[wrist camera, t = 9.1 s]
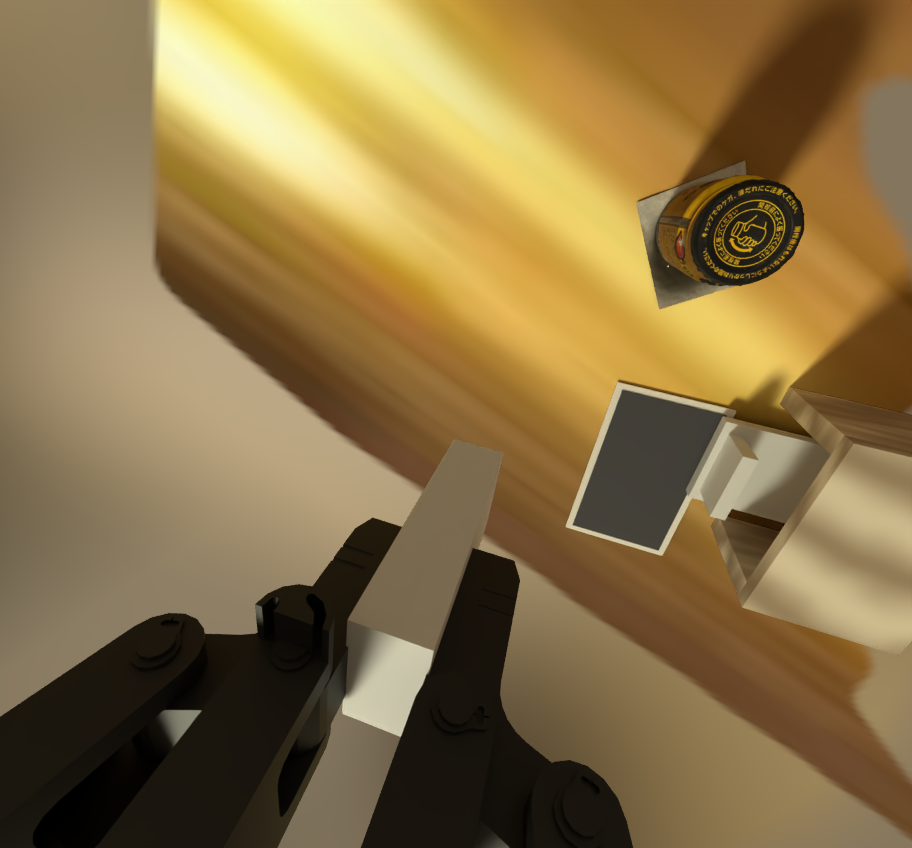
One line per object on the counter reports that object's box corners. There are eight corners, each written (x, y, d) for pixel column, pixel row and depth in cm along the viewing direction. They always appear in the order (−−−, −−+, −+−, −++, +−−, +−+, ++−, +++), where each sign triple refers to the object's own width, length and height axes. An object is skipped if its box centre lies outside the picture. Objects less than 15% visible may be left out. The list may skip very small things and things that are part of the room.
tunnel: (789, 387, 37) (854, 443, 28) (939, 421, 35) (1059, 493, 26) (710, 526, 44) (742, 607, 35) (832, 561, 42) (897, 655, 33)
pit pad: (617, 381, 40) (617, 382, 40) (736, 410, 38) (737, 411, 38) (565, 525, 48) (565, 527, 48) (661, 554, 46) (662, 556, 46)
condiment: (744, 160, 31) (822, 135, 21) (760, 278, 34) (836, 308, 24) (635, 202, 34) (656, 199, 24) (658, 308, 37) (686, 347, 26)
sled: (722, 416, 38) (748, 456, 32) (1054, 496, 34) (1158, 560, 28) (685, 489, 42) (702, 538, 36) (981, 570, 38) (1058, 641, 32)
